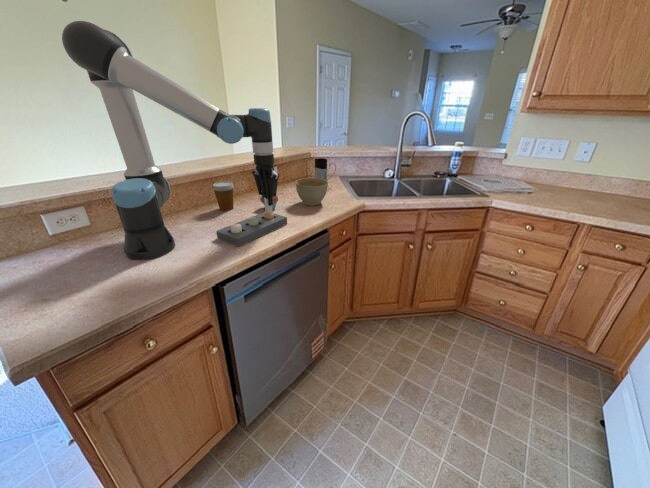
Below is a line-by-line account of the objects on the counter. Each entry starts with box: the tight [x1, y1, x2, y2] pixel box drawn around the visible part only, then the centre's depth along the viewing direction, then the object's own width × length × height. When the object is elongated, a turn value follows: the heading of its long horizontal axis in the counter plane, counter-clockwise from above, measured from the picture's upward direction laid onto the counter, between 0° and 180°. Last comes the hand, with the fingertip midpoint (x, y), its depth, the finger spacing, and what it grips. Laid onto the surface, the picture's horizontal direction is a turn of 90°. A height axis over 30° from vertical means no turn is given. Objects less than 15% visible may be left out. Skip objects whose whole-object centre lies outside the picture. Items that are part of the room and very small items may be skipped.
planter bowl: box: [295, 177, 329, 207], centre depth 143 cm, size 16×16×11 cm
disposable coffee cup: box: [212, 181, 235, 212], centre depth 134 cm, size 10×10×12 cm
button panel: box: [215, 211, 288, 247], centre depth 113 cm, size 26×12×3 cm, turn 145°
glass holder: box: [314, 157, 337, 181], centre depth 174 cm, size 9×14×15 cm, turn 67°
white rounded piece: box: [229, 223, 242, 235], centre depth 106 cm, size 4×4×4 cm
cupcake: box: [259, 194, 279, 210], centre depth 135 cm, size 9×8×12 cm
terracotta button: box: [264, 211, 275, 220], centre depth 119 cm, size 4×4×4 cm
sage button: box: [247, 216, 259, 227], centre depth 113 cm, size 4×4×4 cm
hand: (269, 212), depth 118 cm, fingers closed
